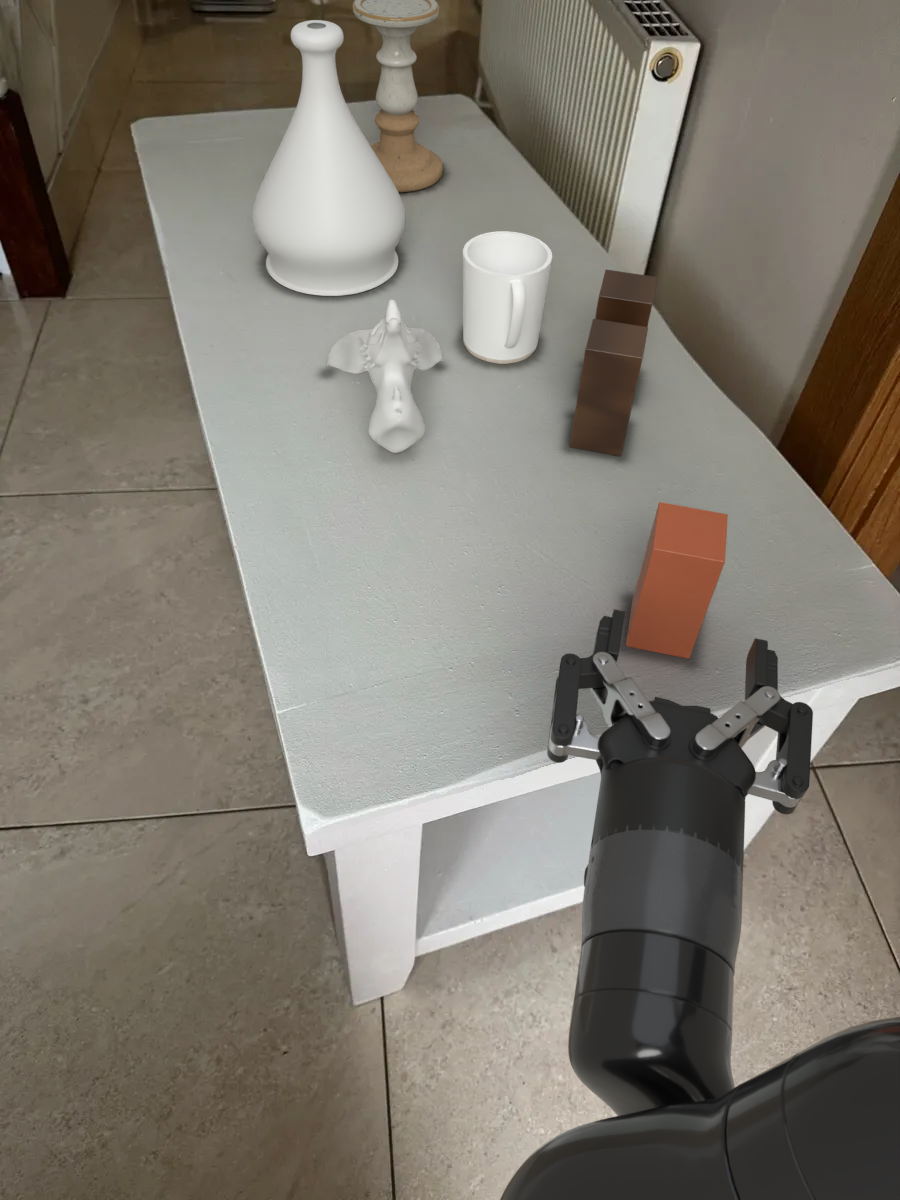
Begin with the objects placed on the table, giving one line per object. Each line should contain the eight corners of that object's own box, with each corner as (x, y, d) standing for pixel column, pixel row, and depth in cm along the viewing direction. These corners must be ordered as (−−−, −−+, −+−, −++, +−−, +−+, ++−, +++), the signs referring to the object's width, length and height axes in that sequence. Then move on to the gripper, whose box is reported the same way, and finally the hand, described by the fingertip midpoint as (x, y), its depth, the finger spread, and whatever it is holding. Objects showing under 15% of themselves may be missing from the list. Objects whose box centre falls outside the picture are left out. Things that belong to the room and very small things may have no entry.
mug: (452, 322, 103) (455, 233, 95) (531, 317, 104) (541, 229, 96) (470, 381, 96) (475, 290, 88) (554, 375, 97) (567, 285, 89)
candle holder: (352, 152, 130) (345, -14, 115) (440, 153, 131) (444, -12, 116) (351, 193, 122) (343, 20, 107) (445, 193, 123) (450, 21, 108)
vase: (286, 314, 103) (259, 67, 84) (239, 241, 113) (205, 7, 94) (429, 282, 108) (433, 43, 89) (372, 215, 118) (364, -11, 100)
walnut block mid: (626, 425, 92) (648, 326, 83) (621, 456, 88) (642, 357, 80) (576, 416, 92) (593, 318, 84) (569, 447, 89) (585, 348, 81)
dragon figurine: (327, 389, 75) (317, 252, 79) (336, 488, 92) (327, 371, 96) (473, 381, 76) (455, 247, 80) (455, 480, 93) (441, 365, 97)
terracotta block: (693, 612, 76) (728, 513, 68) (689, 659, 73) (725, 562, 64) (632, 600, 76) (659, 501, 68) (625, 646, 73) (652, 548, 65)
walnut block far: (636, 373, 98) (657, 276, 89) (631, 401, 94) (652, 303, 86) (589, 365, 98) (605, 268, 90) (582, 392, 95) (598, 295, 87)
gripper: (836, 875, 43) (825, 616, 53) (531, 804, 44) (579, 567, 55) (786, 939, 48) (785, 693, 59) (516, 874, 50) (563, 647, 61)
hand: (685, 632), depth 57 cm, fingers open, 8 cm apart
